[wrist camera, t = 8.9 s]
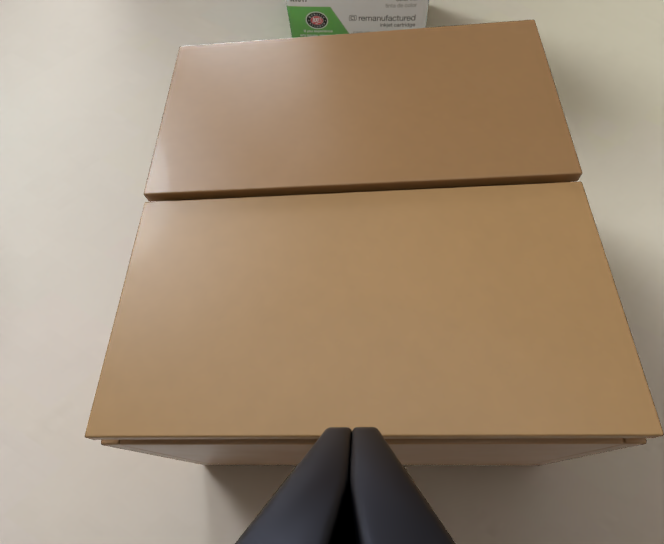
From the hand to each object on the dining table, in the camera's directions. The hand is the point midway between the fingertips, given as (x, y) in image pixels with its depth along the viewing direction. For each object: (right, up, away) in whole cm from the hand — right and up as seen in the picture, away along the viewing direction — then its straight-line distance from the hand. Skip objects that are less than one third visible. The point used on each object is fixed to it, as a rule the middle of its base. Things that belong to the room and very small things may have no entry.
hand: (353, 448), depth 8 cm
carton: (+1, +2, +13) cm, 13 cm away
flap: (0, +2, +4) cm, 5 cm away
